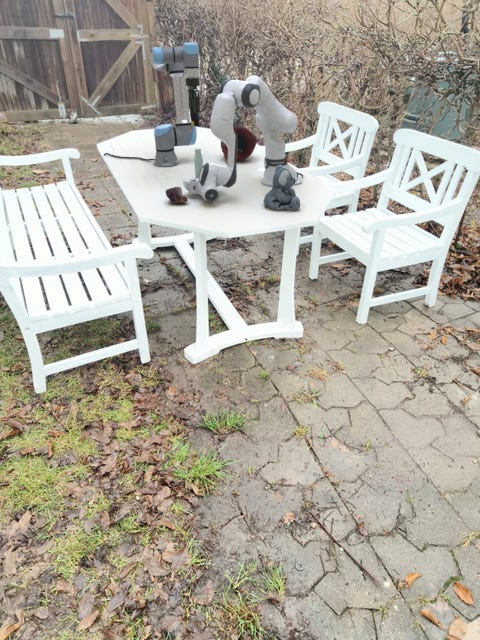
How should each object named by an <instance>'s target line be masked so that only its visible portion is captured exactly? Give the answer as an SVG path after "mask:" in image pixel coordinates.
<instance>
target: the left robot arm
mask: <svg viewBox="0 0 480 640" xmlns="http://www.w3.org/2000/svg"><path fill="white" fill-rule="evenodd" d="M199 52H200V51H199V45H198V43H197V42H184V43H183V45H182V46H155V47H152V49H151V52H150V54H149V55H148V64H149V65H150V68H152V69H154V70H156V71H158V72H162V73H163V72H164V73H166V72H167V73H169V76H170V77H171V79H172V88H173V97H174V105H175V112H176V113H175V114H176V121H175V122H174V126H173V125H172V124H171V123H165V124H161V125H158V126H157V125H156V127H155V128H154V129H153V136H154V142H155V143H154V145H155V155H154V158H143V157H138V156H120V155H115V154H110V153H109V152H105V153H104V154H103V156H106V155H108V156H109V157H113V158H118V159H135V160H142V161H148V162H149V161H154V165H155V166H157V167H163V168H164V167H165V168H167V167H168V168H169V167H174V166H177V165H178V164H179V159H178V157H177V153H176V151H175V147H184V146H186V147H187V146H189V147H190V146H193V145H195V144H196V141H197V131H198V130H197V127H200V114H199V113H200V112H201V106H200V105H201V104H200V92H199V90H198V87H199V86H200V85H201V78H200V77H201V74H200V59H199ZM192 121H194V126H193V125H191V122H192Z"/></svg>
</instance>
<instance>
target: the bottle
mask: <svg viewBox="0 0 480 640" xmlns="http://www.w3.org/2000/svg"><path fill="white" fill-rule="evenodd" d="M193 162H194V163H193V164H194V176H195V178H199V173H200V170H201V168H202V167H203V166H204V160H203V155H202V148H200V147H199V148H198V147H196V148H194V159H193Z"/></svg>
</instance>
